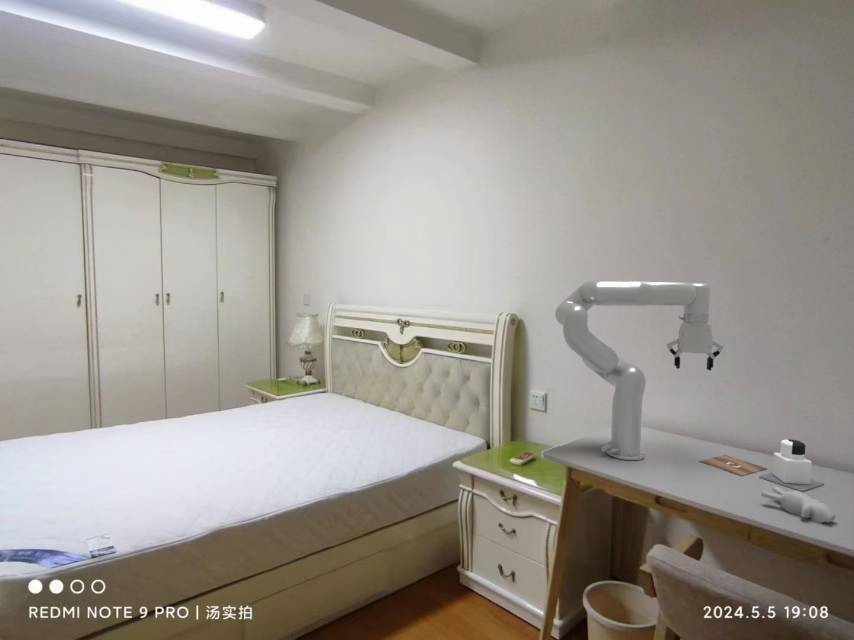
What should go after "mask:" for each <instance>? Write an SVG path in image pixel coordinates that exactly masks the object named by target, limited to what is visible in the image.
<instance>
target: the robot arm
mask: <svg viewBox="0 0 854 640" xmlns="http://www.w3.org/2000/svg"><path fill="white" fill-rule="evenodd" d="M710 294H711V287H710V285H709V284H708V283H705V282H703V283H701V282H695V283H694V282H693V283H692V282H691V283H689V282H683V281H682V282H681V281H680V282H677V281H675V282H671V281H670V282H658V281H657V282H656V281H655V282H654V281H644V280H587V281H586V282H584V283H582V284H581V285H580V286H579V287H578V288H576V290H574V291H573V292H572V293H571V294H570V295H569V296H567V297H566V298H565V299H564V300H563V301H562V302H561V303H560V304H559V305H558V306H557V308H556V310H555V319H556V321H557V322H558V323H559V324H560V325H562V326H563V327H562V333H563V337H564V340H565V343H566V344H567V346H568V347H569V348H570V349H571V350H572V351H573V352H574V353H575V354H577V355H578V356H579V357H580V358H582V361H583V364H584V365H585V366H586V367H588V368H589V369H590V370H591V371H592V372H594V373H595V374H596V375H598V376H599V377H601V378H602V379H603V380H604V381H605V382H606V383H608V384H609V385H611V386H613V387H614V388H615V390H614V393H613V396H612V397H613V398H612V403H611V404H612V405H611V406H612V407H611V431H610V433H611V435H610V436H611V437H610V440H609V441H608V444H607V445H603V446H601V447H600V448H601V451H602V452H603V453H606V452H607V453H608V454H609V455H608V454H607V453H606V454H607V455H608V456H610V455H611V456H610V457H612V456H613V457H612V458H614V459H615V458H616V459H618V460H624V461H639V460H643V459H644V458H645V455H646V453H645V452H644V451H643V450H641V436H642V418H643V417H642V413H643V412H642V411H643V408H642V407H643V398H644V392H645V389H646V375H645V374H644V372H643V371H642V370H641V369H640V368H639V367H638V366H636V365H633V364H631V363H630V362H629V363H628V362H627V361H624V360H622V359H621V358H620V357H619V355H618V354H617V352H616V351H615V350H614V349H613V348H612V347H610V346H609V345H607V344H606V343H605V342H603V341H601V340H600V339H599V338H598V337H597V336H596V335H594V334H593V333H592V331H590V329H589V327H588V326H589V325H588V321H589V314H588V312H587V311H589V310H591V308H592V307H594V306H604V307H605V306H612V307H613V306H622V307H623V306H624V307H625V306H626V307H627V306H628V307H630V306H631V307H632V306H634V307H635V306H637V307H643V306H645V307H646V306H683V314H682V315H678V320H682V322H681V323H680V326H679V331H678V336H677V337H678V338H677V339H674V340H672V341H669V342H668V343H666V347H667V348H668V350H669V352H670V353H671V354H672V355H673V356H674V361H673V362H674V364H673V366H675V368H676V369H678V370H679V369H680V368H681V357H680V355H681V354H682V353H685V354H686V353H688V354H689V353H691V354H692V353H693V354H706V355H707V356H708V357H707V358H706V359H707V360H706V370H708V371H712V368H713V367H714V359H715V358H716V357H718V356H719V355H720V354H721V352H722V351H723V349H724V346H723V345H721V344H720V343H718V342H716V341H713V331H712V330H713V329H712V323H709V316H710V314H709V312H710V296H711V295H710ZM674 345H677V349H676V350H675V349H674V348H673V346H674ZM713 346H714V347H715V348H716V350H715V351H714V352H712V351H713Z"/></svg>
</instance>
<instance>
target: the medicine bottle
mask: <svg viewBox="0 0 854 640" xmlns="http://www.w3.org/2000/svg"><path fill="white" fill-rule="evenodd" d="M806 447H807V446H806V444H805V443H804V442H802V441H801V440H797V439H792V438H789V439H788V438H787V439H782V440H781V441H780V451H779V452H773V454H772V455H773V457H772V458H773V459H772V472H771V473H772V474H773V475H774V476H775V477H777V478H778V479H780V480H781V481H782V482H784V483H790V484H807V485H809V484H810V479H811V478H812V476H811V475H812V461H811V460H809V459H807V458H806V457H805V456H806Z"/></svg>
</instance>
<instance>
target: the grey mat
mask: <svg viewBox="0 0 854 640" xmlns="http://www.w3.org/2000/svg"><path fill="white" fill-rule="evenodd" d="M759 477H760V478H759ZM758 478H759V479H762V478H763V480H765V479H766V480H765V481H768V480H769V481H768V482H771V481H772V482H771V483H774V482H775V483H774V484H777V483H778V484H777V485H780V484H781V485H780V486H783V487H785V486H786V488H788V487H789V489H792V490H797V491H800V492H803V493H805V492H807V491H810V490H813V489H816V488H820V487H822V486H824V485H825V483H823V482H821V481H818V480H815V479H810V484H809V485H807V484H790V483H784V482H782V481H781V480H780V479H778V478H777V477H775V476H774V475H773V474H772V472H769V473H766V474H762V475H760V476H758ZM821 485H822V486H821Z"/></svg>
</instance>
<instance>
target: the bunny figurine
mask: <svg viewBox="0 0 854 640" xmlns="http://www.w3.org/2000/svg"><path fill="white" fill-rule="evenodd" d="M771 488H772V489H771V490H772V491H768V490H763V491H762V492H761V496H762V497H763V498H766V499H771V500H776V501H779V502H780V504H781V506H782V508H783V509H784V510H785V511H786V512H788V513H790V514H793V515H794V516H795V515H796V516H800V517H801V518H805V519H807V518H809V519H810V520H811V521H813V522H814V523H818V524H822V523H825V522H826V523H831V522H832V521H834V520H836V516H837V513H836V512H834V511H833V510H832V508H831V507H830V506H829V505H828V504H827V503H823V502H822V501H821V500H818V499H815V498H812V497H810V496H809V495H808V494H807V493H805V492H800V491H797V490H794V489H792V490H787V491H785V490H784V489H782V488H781V487H779V486H776V485H773V486H772V487H771ZM774 492H775V493H774Z"/></svg>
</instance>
